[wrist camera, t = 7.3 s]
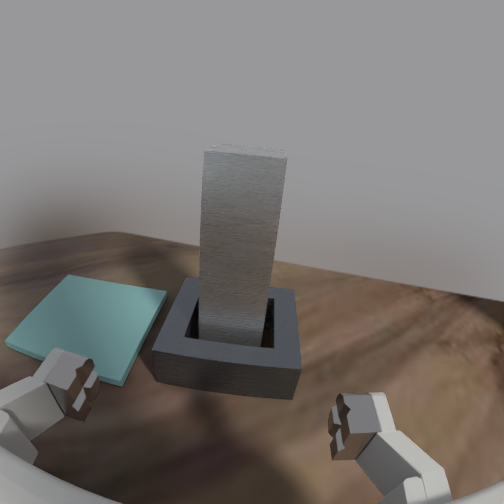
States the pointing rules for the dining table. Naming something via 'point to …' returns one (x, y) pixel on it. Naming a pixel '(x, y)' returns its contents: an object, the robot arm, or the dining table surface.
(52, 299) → the teal pad
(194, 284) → the socket block
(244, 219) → the steel peg
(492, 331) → the dining table surface
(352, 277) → the dining table surface
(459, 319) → the dining table surface
